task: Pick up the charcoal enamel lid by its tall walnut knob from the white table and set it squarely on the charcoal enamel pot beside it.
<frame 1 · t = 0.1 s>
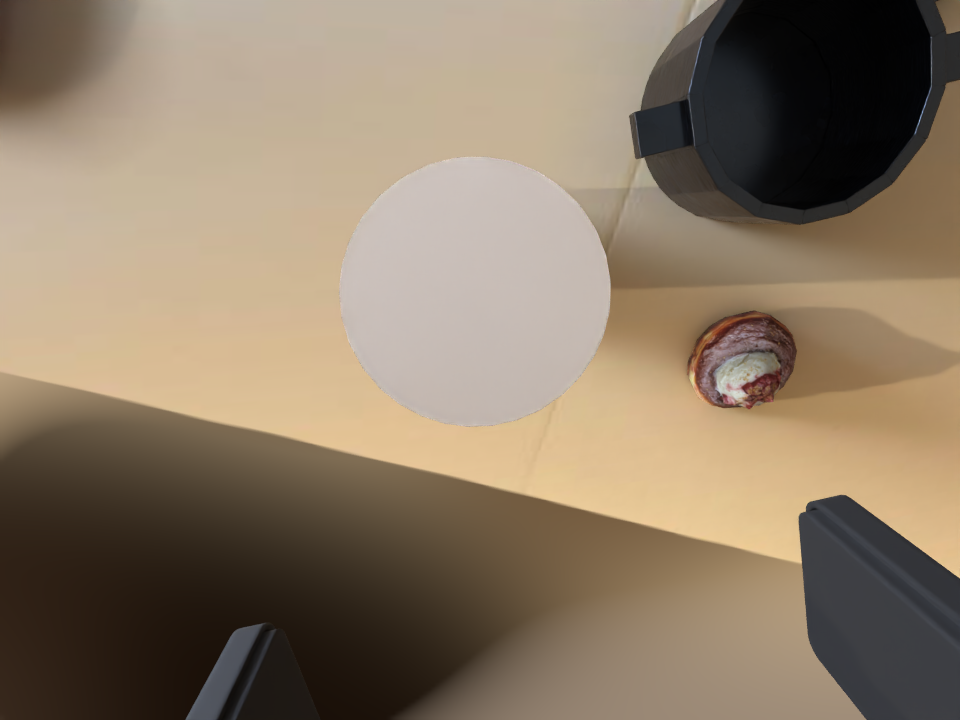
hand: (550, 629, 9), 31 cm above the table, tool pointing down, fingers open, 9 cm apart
pot: (738, 117, 37), on the table
pastry: (733, 356, 41), on the table
cylindrical container: (466, 244, 38), on the table
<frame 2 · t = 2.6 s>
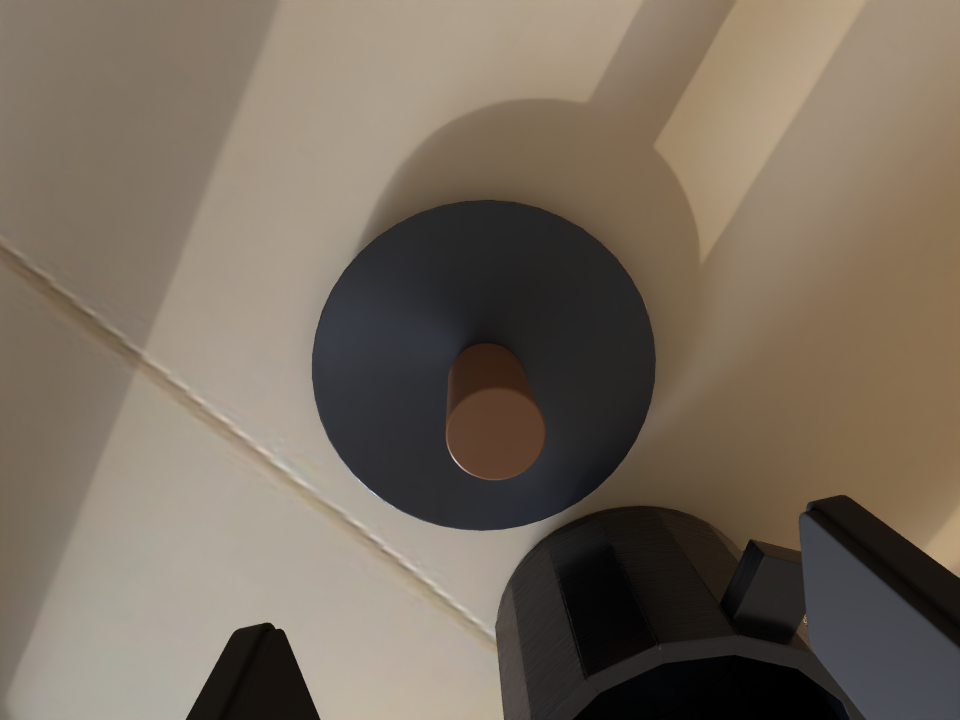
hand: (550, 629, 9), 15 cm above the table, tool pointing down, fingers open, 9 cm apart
lid: (485, 375, 23), point 1 cm above the table
pot: (627, 622, 28), on the table
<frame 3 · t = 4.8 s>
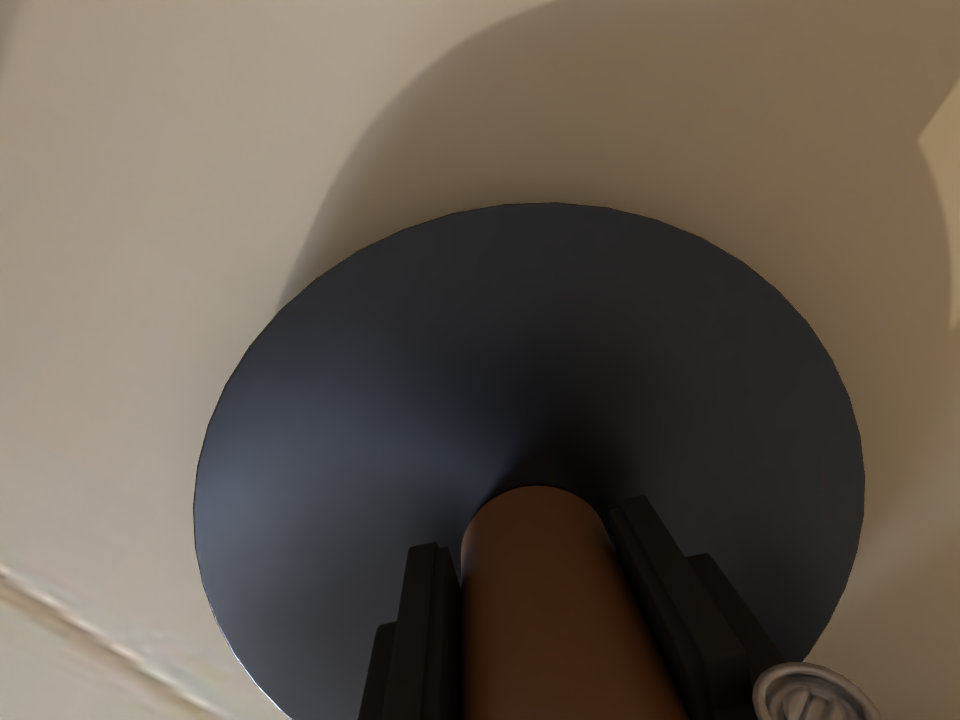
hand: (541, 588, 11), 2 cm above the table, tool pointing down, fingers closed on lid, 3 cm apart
lid: (530, 534, 12), point 1 cm above the table, touching gripper
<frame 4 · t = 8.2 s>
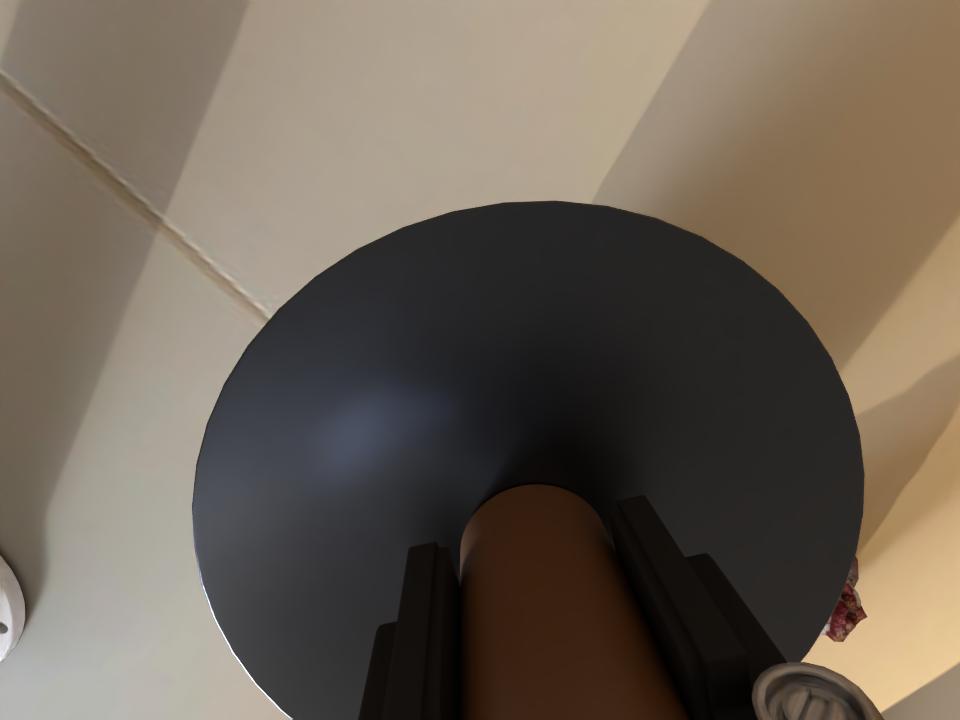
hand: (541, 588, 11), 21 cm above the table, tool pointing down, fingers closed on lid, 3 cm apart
lid: (530, 532, 12), point 19 cm above the table, touching gripper
pastry: (787, 562, 36), on the table
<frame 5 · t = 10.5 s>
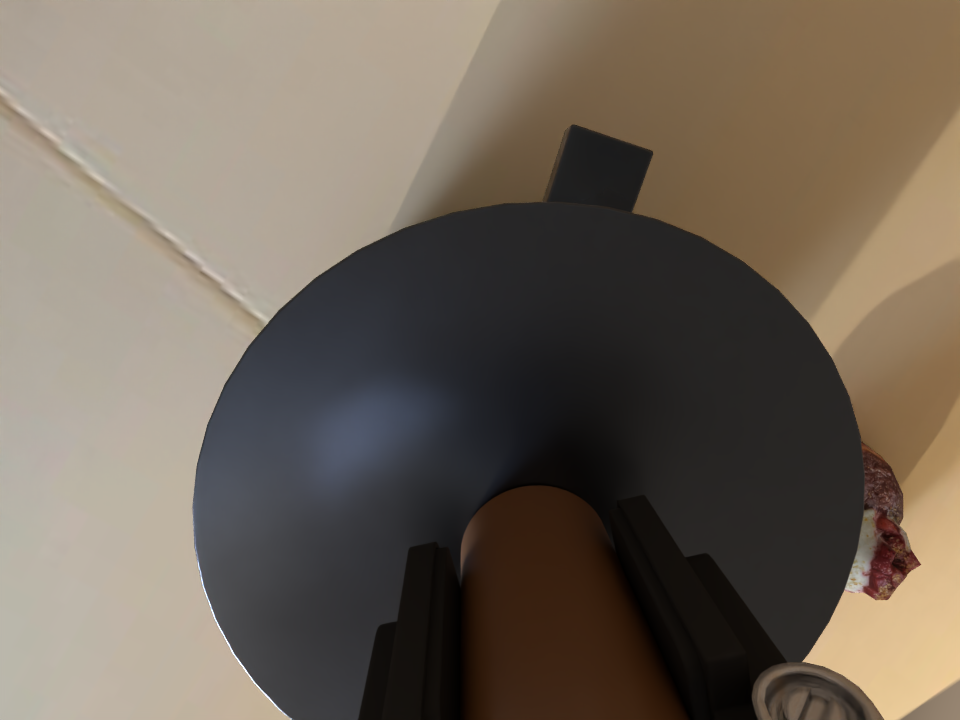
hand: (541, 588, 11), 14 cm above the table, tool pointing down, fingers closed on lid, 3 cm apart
lid: (530, 533, 12), point 12 cm above the table, touching gripper
pot: (492, 375, 24), on the table
pastry: (804, 501, 27), on the table
when the fingers open (10 cm above the table, at t = 11.8 s): lid stays where it is, resting on pot.
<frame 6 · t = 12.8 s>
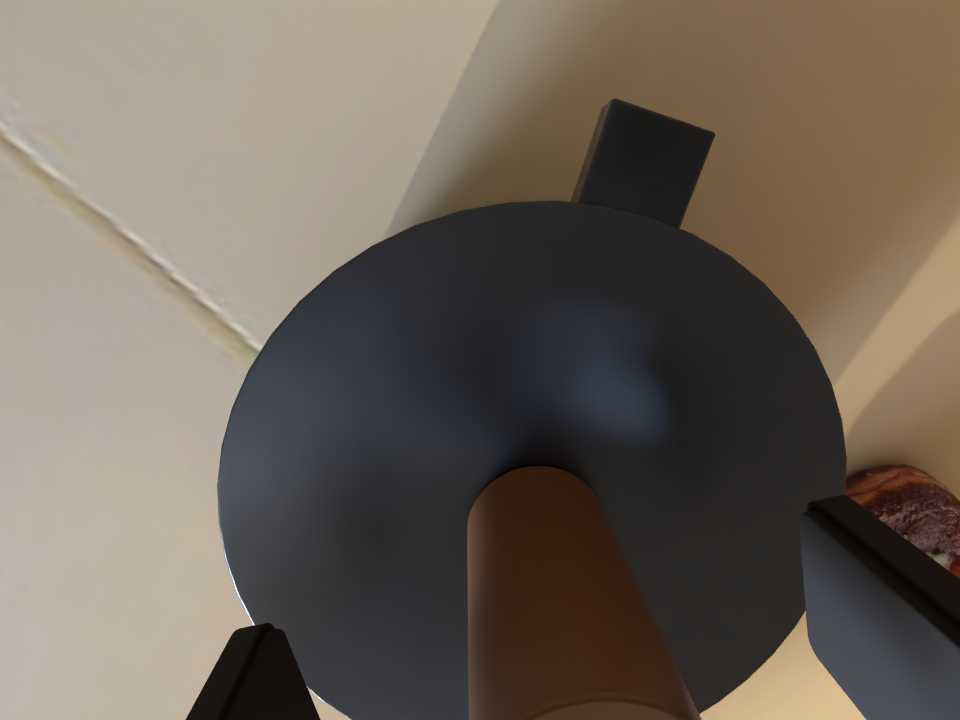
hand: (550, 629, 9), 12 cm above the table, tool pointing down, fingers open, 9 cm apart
lid: (532, 512, 13), point 8 cm above the table, touching pot
pot: (505, 397, 21), on the table
pastry: (857, 538, 24), on the table
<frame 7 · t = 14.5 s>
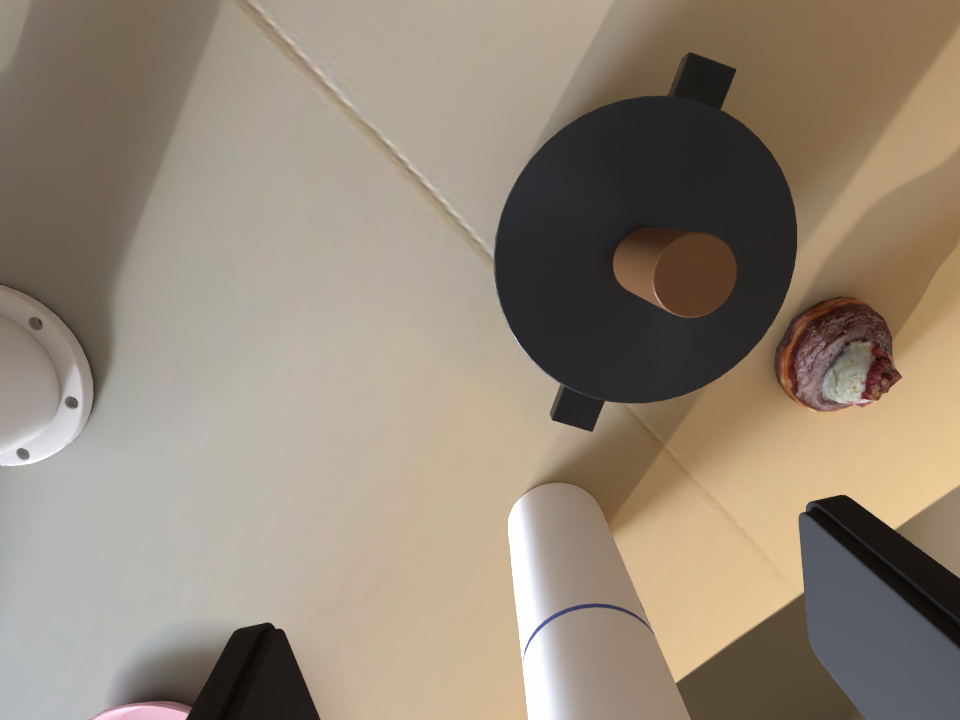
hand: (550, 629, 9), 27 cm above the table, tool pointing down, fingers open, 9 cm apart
lid: (641, 260, 26), point 8 cm above the table, touching pot
pot: (601, 248, 35), on the table
pastry: (821, 352, 37), on the table
cylindrical container: (555, 524, 40), on the table
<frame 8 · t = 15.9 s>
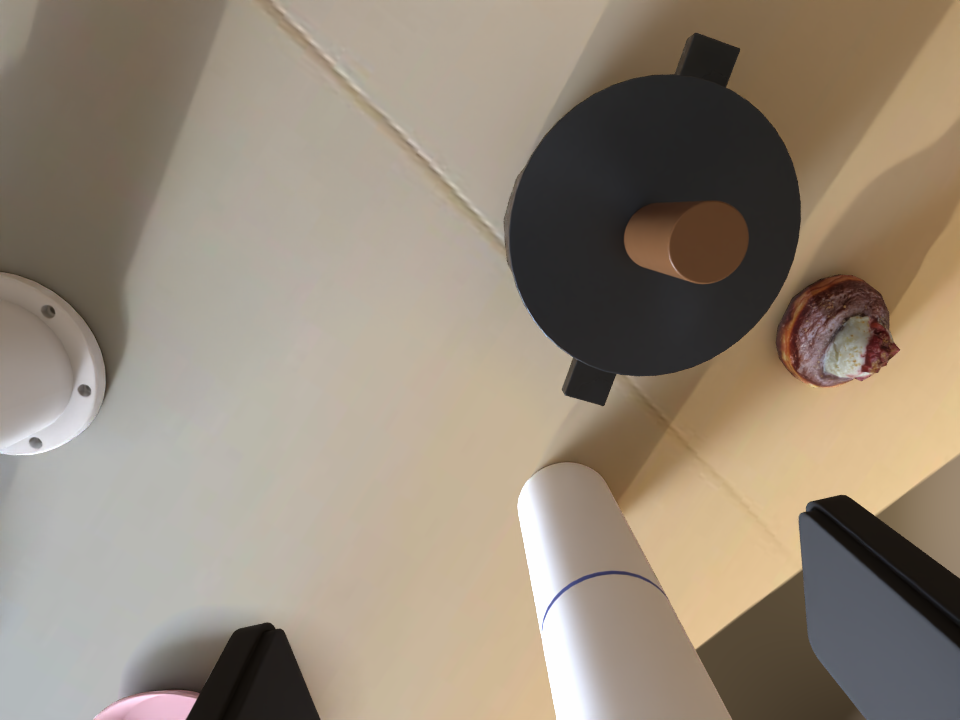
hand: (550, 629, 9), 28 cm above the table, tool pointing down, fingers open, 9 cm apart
lid: (651, 235, 27), point 8 cm above the table, touching pot
pot: (606, 230, 35), on the table
pastry: (820, 329, 38), on the table
cylindrical container: (564, 503, 41), on the table
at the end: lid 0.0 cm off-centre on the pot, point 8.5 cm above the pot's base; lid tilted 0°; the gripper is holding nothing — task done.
